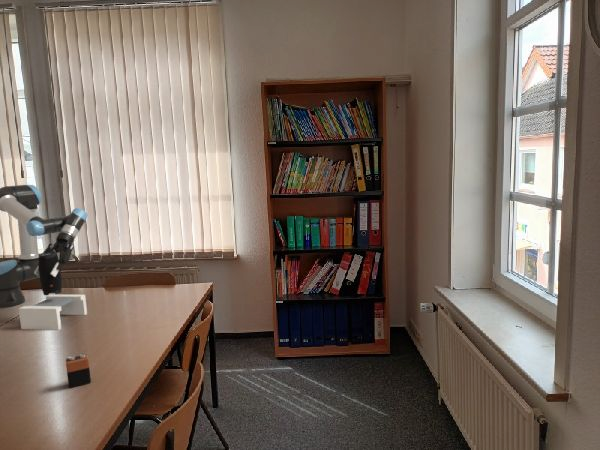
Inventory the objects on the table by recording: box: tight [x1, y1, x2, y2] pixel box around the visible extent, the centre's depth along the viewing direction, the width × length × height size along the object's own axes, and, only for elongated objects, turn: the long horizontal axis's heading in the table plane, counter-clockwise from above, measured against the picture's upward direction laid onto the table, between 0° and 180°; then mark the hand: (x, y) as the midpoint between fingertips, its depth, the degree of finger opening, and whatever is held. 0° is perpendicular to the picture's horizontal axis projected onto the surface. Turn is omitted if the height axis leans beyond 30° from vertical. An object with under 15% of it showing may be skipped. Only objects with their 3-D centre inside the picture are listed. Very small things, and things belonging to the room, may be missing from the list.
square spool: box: [18, 293, 88, 331], centre depth 224 cm, size 22×19×10 cm
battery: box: [65, 353, 92, 389], centre depth 159 cm, size 4×7×10 cm, turn 120°
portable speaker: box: [38, 251, 63, 296], centre depth 221 cm, size 9×9×20 cm
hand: (44, 274), depth 218 cm, fingers closed on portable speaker, 9 cm apart
